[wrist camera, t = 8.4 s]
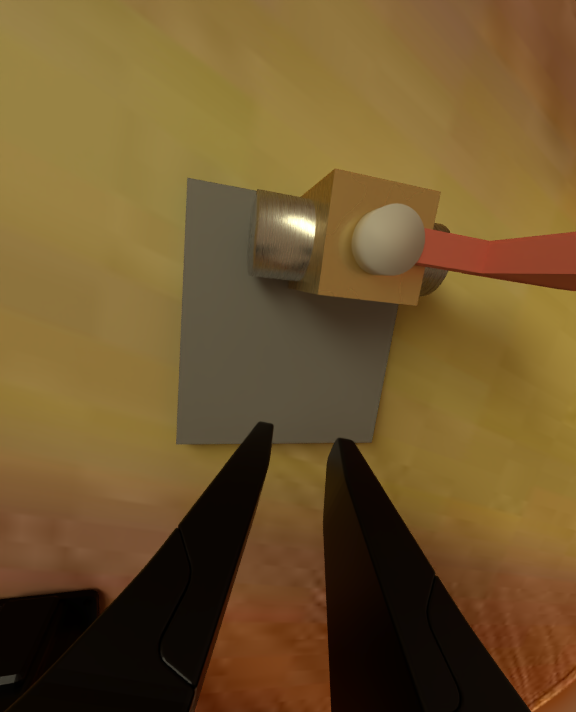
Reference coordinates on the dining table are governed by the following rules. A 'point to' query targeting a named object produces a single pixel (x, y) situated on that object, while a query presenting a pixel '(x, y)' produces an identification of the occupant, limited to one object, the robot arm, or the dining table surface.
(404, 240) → the valve lever
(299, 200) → the ball valve
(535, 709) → the dining table surface
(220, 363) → the mounting board
